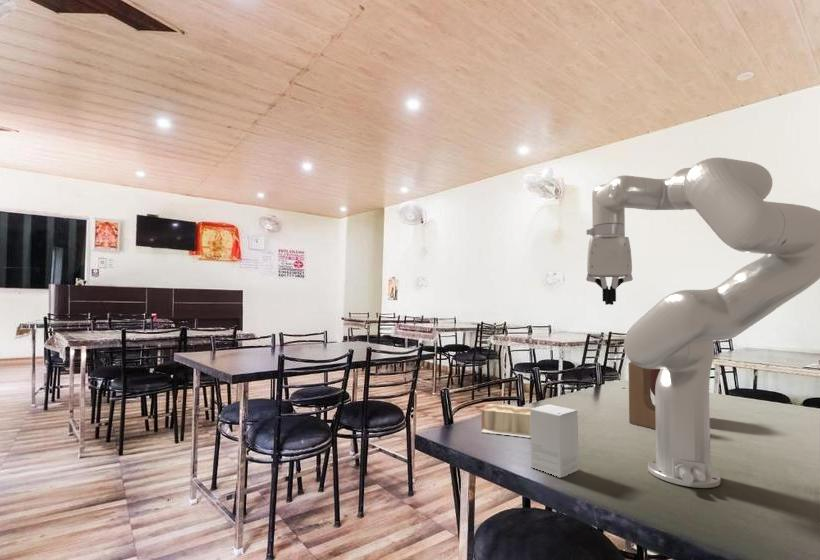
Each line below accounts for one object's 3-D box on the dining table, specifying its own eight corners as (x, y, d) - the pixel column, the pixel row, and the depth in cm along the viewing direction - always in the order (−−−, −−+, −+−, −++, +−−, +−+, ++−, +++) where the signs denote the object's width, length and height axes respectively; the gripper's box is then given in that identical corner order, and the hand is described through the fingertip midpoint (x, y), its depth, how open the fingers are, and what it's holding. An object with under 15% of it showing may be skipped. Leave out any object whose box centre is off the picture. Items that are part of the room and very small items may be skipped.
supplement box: (579, 470, 90) (579, 409, 91) (560, 479, 85) (560, 415, 86) (549, 459, 96) (548, 403, 96) (529, 467, 91) (529, 408, 92)
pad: (535, 439, 110) (535, 437, 110) (481, 432, 115) (481, 431, 115) (538, 424, 123) (538, 423, 123) (489, 419, 128) (489, 418, 128)
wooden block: (668, 428, 121) (667, 364, 122) (661, 431, 119) (660, 365, 120) (635, 421, 128) (635, 360, 129) (628, 423, 126) (627, 362, 127)
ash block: (541, 416, 113) (481, 410, 118) (541, 435, 113) (481, 428, 118) (543, 409, 120) (486, 403, 126) (543, 426, 120) (486, 420, 125)
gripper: (577, 232, 109) (578, 304, 108) (643, 229, 104) (644, 305, 103) (576, 236, 116) (577, 304, 115) (638, 234, 111) (639, 305, 110)
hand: (609, 304), depth 109 cm, fingers closed
